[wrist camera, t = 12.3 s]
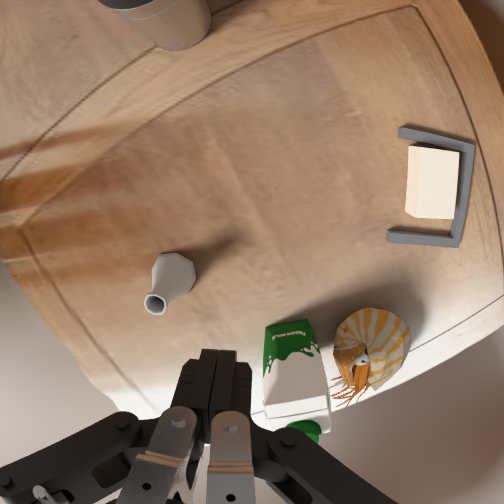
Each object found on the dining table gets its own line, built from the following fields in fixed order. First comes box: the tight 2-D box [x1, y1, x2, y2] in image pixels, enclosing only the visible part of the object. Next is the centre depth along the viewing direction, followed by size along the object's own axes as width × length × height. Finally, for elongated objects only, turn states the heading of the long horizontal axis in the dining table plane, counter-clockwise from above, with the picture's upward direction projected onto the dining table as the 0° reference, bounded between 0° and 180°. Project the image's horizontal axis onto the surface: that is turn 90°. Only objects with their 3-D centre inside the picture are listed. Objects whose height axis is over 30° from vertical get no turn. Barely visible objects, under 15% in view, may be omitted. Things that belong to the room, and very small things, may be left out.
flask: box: [144, 253, 196, 315], centre depth 44 cm, size 7×7×10 cm
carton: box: [405, 146, 459, 219], centre depth 41 cm, size 10×7×4 cm
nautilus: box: [331, 307, 411, 407], centre depth 49 cm, size 8×22×15 cm
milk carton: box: [263, 319, 331, 443], centre depth 43 cm, size 9×9×20 cm
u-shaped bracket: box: [386, 127, 475, 248], centre depth 42 cm, size 17×14×2 cm
